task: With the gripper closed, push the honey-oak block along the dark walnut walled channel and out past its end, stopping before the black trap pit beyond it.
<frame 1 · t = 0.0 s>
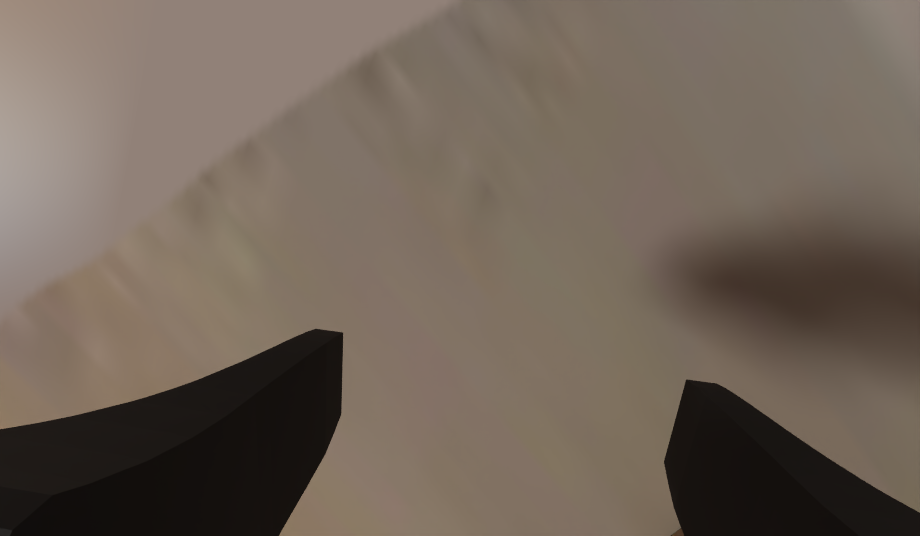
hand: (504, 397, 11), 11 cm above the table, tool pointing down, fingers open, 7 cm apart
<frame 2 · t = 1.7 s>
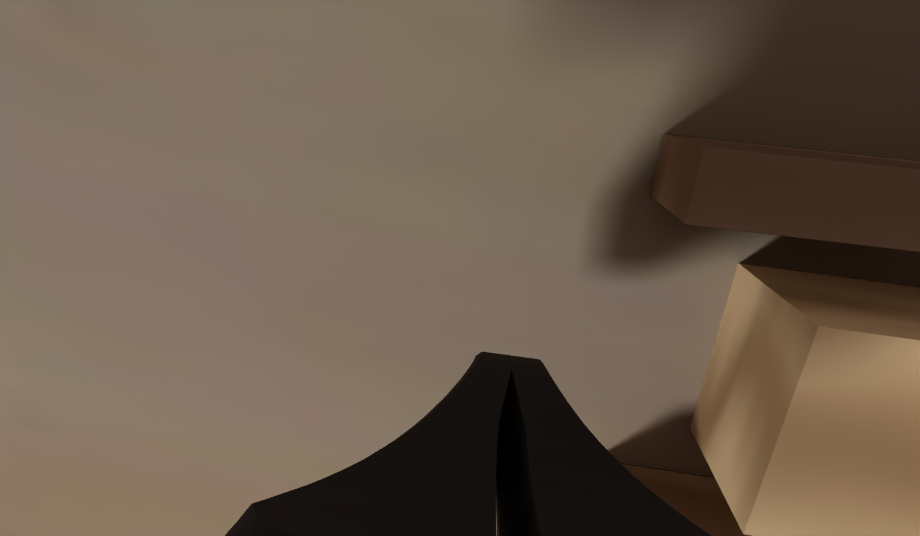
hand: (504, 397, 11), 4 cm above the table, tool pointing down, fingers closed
walnut channel: (887, 375, 14), on the table
oak block: (805, 361, 14), on the table
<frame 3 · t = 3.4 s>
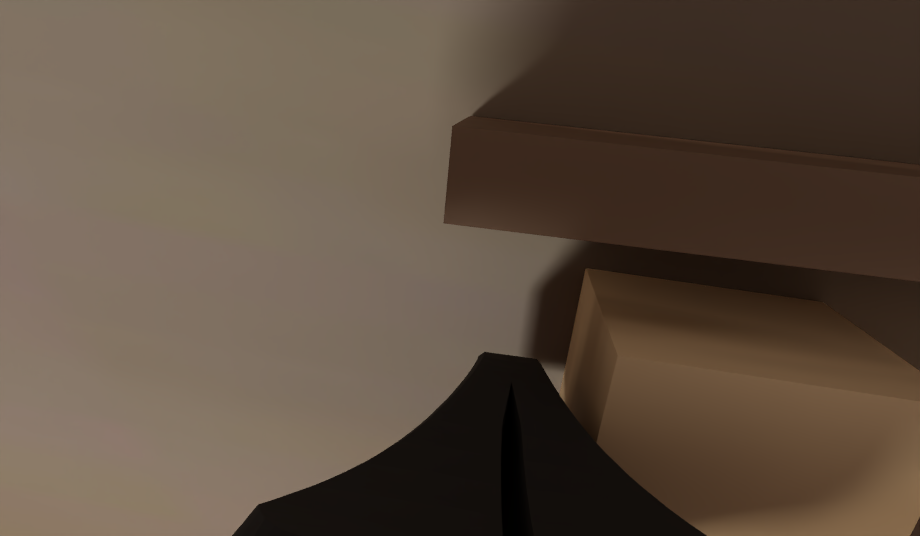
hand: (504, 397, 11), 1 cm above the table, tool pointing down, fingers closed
walnut channel: (750, 398, 12), on the table
oak block: (673, 385, 12), on the table, touching gripper
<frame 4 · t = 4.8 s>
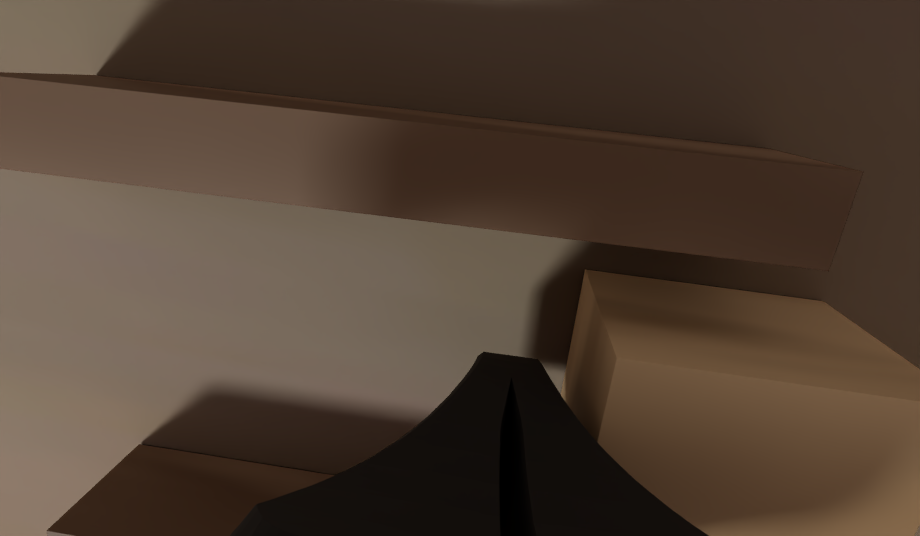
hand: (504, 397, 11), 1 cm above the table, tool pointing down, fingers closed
walnut channel: (400, 349, 13), on the table
oak block: (674, 386, 12), on the table, touching gripper
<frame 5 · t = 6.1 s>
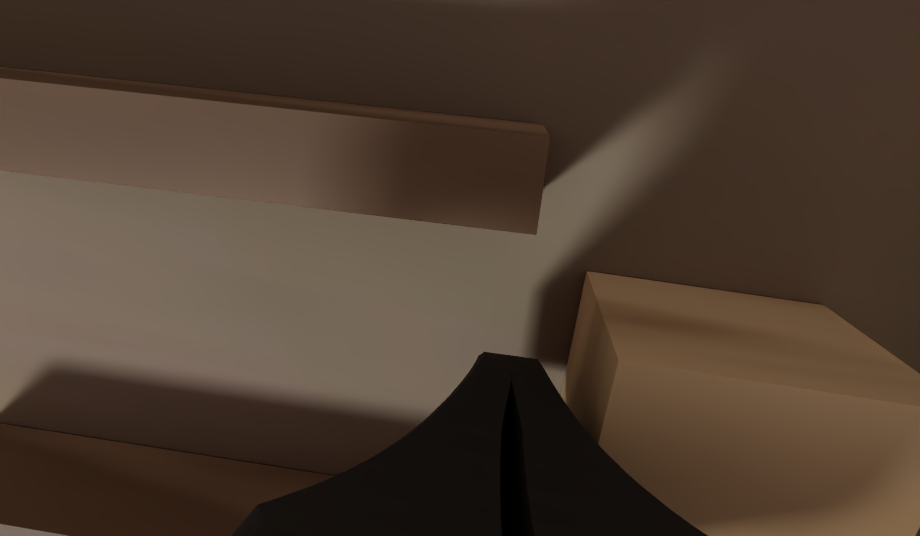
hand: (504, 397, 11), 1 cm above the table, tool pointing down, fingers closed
walnut channel: (223, 325, 13), on the table
oak block: (674, 388, 12), on the table, touching gripper
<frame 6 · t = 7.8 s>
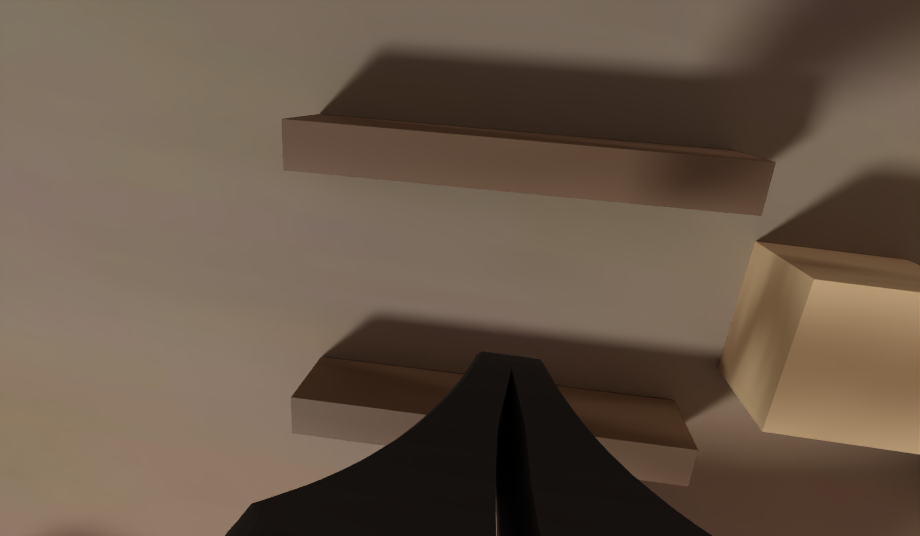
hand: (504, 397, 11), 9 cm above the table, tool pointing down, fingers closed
walnut channel: (503, 283, 20), on the table
oak block: (805, 315, 19), on the table
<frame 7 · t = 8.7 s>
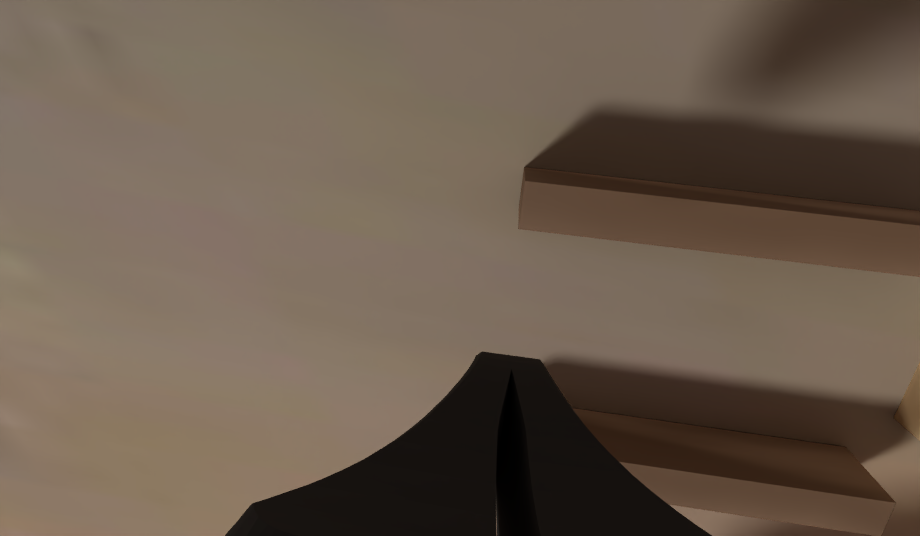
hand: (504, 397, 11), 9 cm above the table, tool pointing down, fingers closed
walnut channel: (688, 332, 20), on the table
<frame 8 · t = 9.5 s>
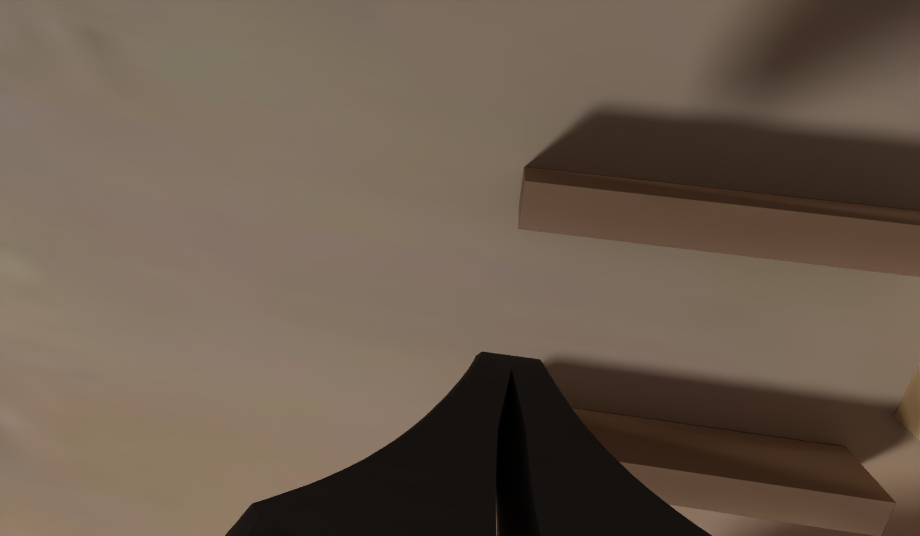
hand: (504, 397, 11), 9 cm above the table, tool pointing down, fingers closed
walnut channel: (688, 332, 20), on the table
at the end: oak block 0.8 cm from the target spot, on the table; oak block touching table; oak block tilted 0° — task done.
